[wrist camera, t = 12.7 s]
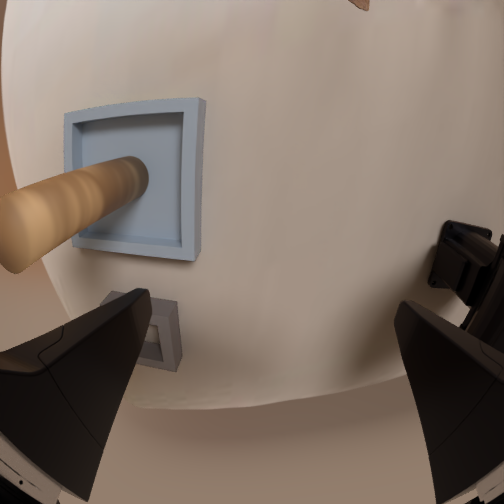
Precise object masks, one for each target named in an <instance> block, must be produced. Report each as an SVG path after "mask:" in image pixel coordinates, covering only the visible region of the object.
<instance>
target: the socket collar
mask: <svg viewBox="0 0 504 504" xmlns="http://www.w3.org/2000/svg"><path fill="white" fill-rule="evenodd" d="M124 294H126V293H121V292H115V291H111V292H110V293H109V295H108V296H107V297H106V298H105V299H104V300H103V301H102V302H101V303H100V306H102V305H104V304H106V303H108V302H110V301H112V300H114V299H116V298H118V297H120V296H122V295H124ZM150 299H151V304H152V316H151V320H150V323H149V324H151V325H156V326H158V332H159V339H160V344H156V343H151V342H147V341H144V344H143V347H142V350H141V352H140V355H139V357H138V360H137V362H136V364H140V365H145V366H149V367H153V368H158V369H163V370H167V371H172V372H177V369H178V366H179V364H180V361H181V359H182V347H181V338H180V329H179V319H178V307H177V302H176V301H169V300H163V299H156V298H150Z"/></svg>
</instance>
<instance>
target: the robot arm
mask: <svg viewBox="0 0 504 504" xmlns="http://www.w3.org/2000/svg"><path fill="white" fill-rule="evenodd" d="M450 224H451V227H450V228H449V226H450ZM487 234H488V235H487ZM491 237H492V231H491V230H490V229H488V228H483V227H479V226H475V225H470V224H466V223H461V222H457V221H452V220H448V221H447V222H446V223H445V226H444V230H443V234H442V238H441V241H440V244H439V248H438V251H437V255H436V258H435V261H434V264H433V268H432V271H431V274H430V277H429V280H428V284H429V285H430V287H432V288H448V289H451V290H452V291H453V292H455V293H456V295H457V296H458V297H459V298H460V299H461V300H462V301H463V303H464V304H465V305H466V306H468V307H469V308H470V311H469V312H468V314H467V316H466V318H465V320H464V321H463V323H462V324H461V325H460V326H459V327H457V326H455V325H454V324H452V323H450V322H448V321H447V320H445V319H443V318H441V317H440V316H438V315H436V314H435V313H433V312H431V311H429V310H427V309H426V308H424V307H422V306H420V305H419V304H417V303H415V302H413V301H411V300H404V301H401V302H400V304H399V307H398V310H397V313H396V316H395V319H394V327H395V331H396V335H397V339H398V343H399V348H400V352H401V356H402V360H403V363H404V366H405V369H406V372H407V376H408V379H409V382H410V385H411V389H412V392H413V395H414V399H415V402H416V406H417V410H418V413H419V417H420V421H421V425H422V429H423V433H424V437H425V442H426V446H427V450H428V455H429V461H430V466H431V472H432V477H433V483H434V490H435V498H436V504H445V503H447V502H449V501H451V500H453V499H456V498H458V497H460V496H462V495H464V494H466V493H468V492H470V491H472V490H473V489H475V488H476V490H477V493H478V496H477V497H476V498H474V499H472V500H470V501H469V502H467V503H465V504H504V235H503V234H502V235H501V238H500V244H499V247H498V246H496V245H495V244H493V243H492V242H491V241H490V240H491ZM433 281H434V282H433ZM432 282H433V283H432ZM151 316H152V304H151V299H150V293H149V290H147V289H142V288H136V289H134V290H132V291H130V292H128V293H126V294H124V295H122V296H120V297H118V298H116V299H114V300H112V301H110V302H108V303H106V304H104V305H102V306H100V307H98V308H96V309H94V310H92V311H90V312H88V313H86V314H84V315H82V316H80V317H78V318H76V319H74V320H72V321H70V322H68V323H66V324H64V325H62V326H60V327H58V328H56V329H54V330H52V331H50V332H48V333H46V334H44V335H41V336H39V337H37V338H34V339H32V340H30V341H27V342H25V343H23V344H21V345H18V346H15V347H13V348H11V349H8V350H6V351H3V352H0V504H60V503H59V500H58V497H59V494H60V492H61V490H63V491H65V492H67V493H69V494H71V495H73V496H75V497H77V498H79V499H81V500H83V501H86V502H88V500H89V497H90V493H91V490H92V487H93V483H94V480H95V476H96V473H97V470H98V467H99V464H100V460H101V457H102V454H103V450H104V447H105V445H106V442H107V439H108V436H109V433H110V430H111V427H112V425H113V422H114V419H115V416H116V413H117V411H118V408H119V405H120V403H121V400H122V397H123V395H124V392H125V390H126V387H127V385H128V382H129V379H130V377H131V374H132V372H133V369H134V367H135V365H136V362H137V360H138V357H139V355H140V352H141V350H142V347H143V344H144V340H145V337H146V333H147V330H148V326H149V323H150V320H151Z"/></svg>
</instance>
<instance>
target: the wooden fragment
mask: <svg viewBox="0 0 504 504" xmlns="http://www.w3.org/2000/svg"><path fill="white" fill-rule="evenodd" d="M348 1H350V2H351V3H353V4H355V5H356V6H357V7H358V8H360V9H363V10H365V11H369V0H348Z"/></svg>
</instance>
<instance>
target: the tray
mask: <svg viewBox="0 0 504 504" xmlns="http://www.w3.org/2000/svg"><path fill="white" fill-rule="evenodd" d="M205 108H206V101H205V100H203V99H201V98H173V99H158V100H146V101H136V102H128V103H120V104H113V105H106V106H100V107H94V108H88V109H83V110H78V111H73V112H69V113H64V171H65V173H67V172H70V171H73V170H76V169H80V168H83V167H87V166H90V165H94V164H97V163H101V162H105V161H109V160H113V159H117V158H121V157H125V156H134V157H137V158H139V159H140V160H141V161H142V162H143V163H144V164H145V166H146V168H147V170H148V174H149V183H148V187H147V189H146V191H145V192H144V193H143V195H141V196H140V197H138V198H137V199H135V200H133V201H131V202H129V203H128V204H126V205H124V206H122V207H120V208H119V209H117V210H115V211H113V212H112V213H110V214H108V215H107V216H105V217H103V218H101V219H100V220H98V221H96V222H95V223H93V224H92V225H90V226H88V227H87V228H85V229H83V230H82V231H80V232H79V233H77V234H76V235H74V236H72V237H71V238H72V244H73V247H77V248H85V249H93V250H101V251H110V252H118V253H126V254H135V255H144V256H153V257H161V258H170V259H180V260H189V261H195V260H196V258H197V256H198V255H199V253H200V252H201V196H202V164H203V142H204V124H205Z"/></svg>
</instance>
